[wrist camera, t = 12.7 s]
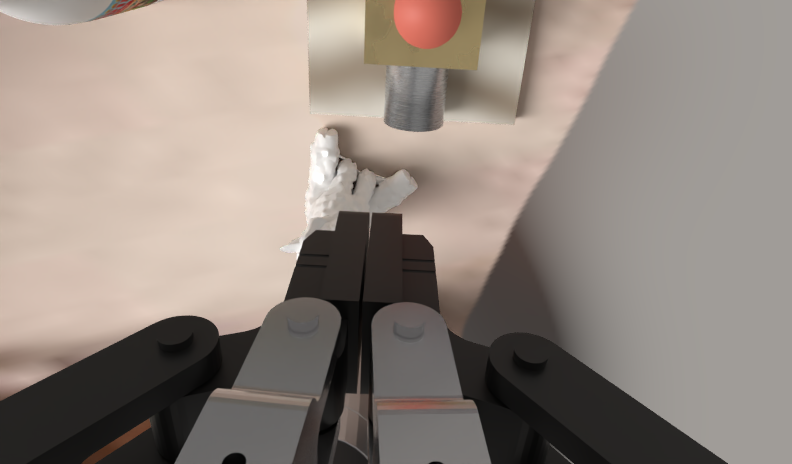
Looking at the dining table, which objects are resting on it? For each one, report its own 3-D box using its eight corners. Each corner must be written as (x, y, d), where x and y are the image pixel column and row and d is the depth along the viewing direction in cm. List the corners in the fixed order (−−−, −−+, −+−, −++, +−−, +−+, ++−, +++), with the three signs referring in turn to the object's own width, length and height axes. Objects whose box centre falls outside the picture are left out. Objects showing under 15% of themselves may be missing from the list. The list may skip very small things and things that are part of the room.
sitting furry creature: (421, 175, 46) (427, 247, 35) (372, 249, 49) (364, 334, 39) (322, 120, 43) (298, 180, 33) (278, 202, 47) (243, 279, 36)
